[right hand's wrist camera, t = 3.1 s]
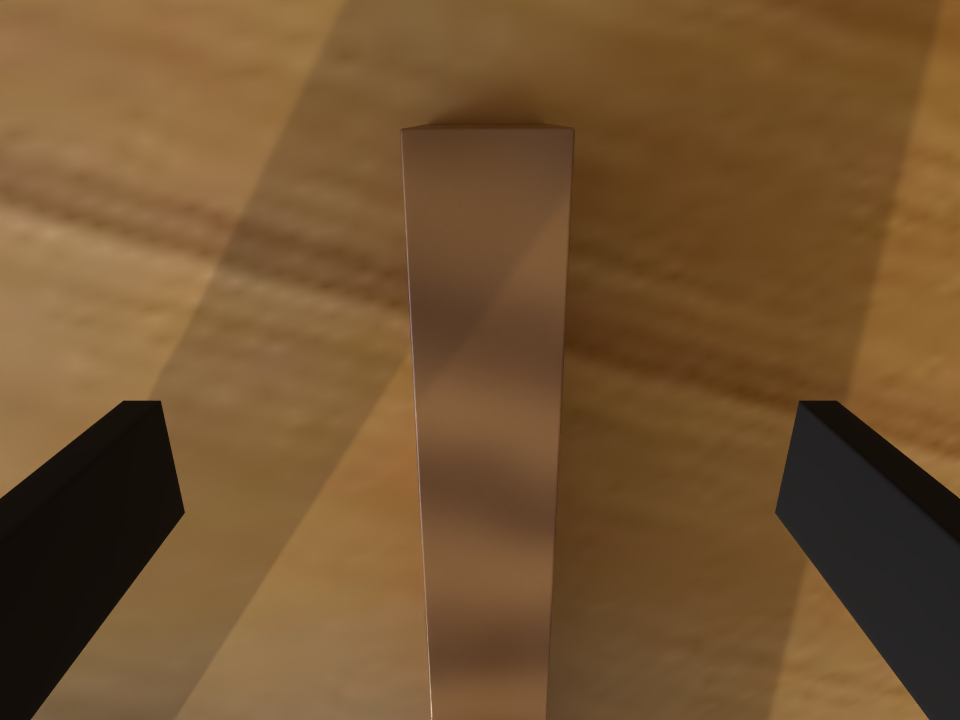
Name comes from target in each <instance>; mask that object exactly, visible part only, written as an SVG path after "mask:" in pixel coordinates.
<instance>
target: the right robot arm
mask: <svg viewBox="0 0 960 720" xmlns="http://www.w3.org/2000/svg"><path fill="white" fill-rule="evenodd" d="M184 513H185V511H184V506H183V502H182V497H181V492H180V488H179V483H178V478H177V474H176V469H175V465H174V460H173V455H172V451H171V446H170V441H169V437H168V432H167V428H166V423H165V418H164V414H163V409H162V404H161V401H122V402H121V403H120V404H119V405H117V406H116V407H115V408H114V409H112V410H111V411H110V412H109V413H107V414H106V415H105V416H104V417H102V418H101V419H100V420H99V421H97V422H96V423H95V424H94V425H92V426H91V427H90V428H89V429H87V430H86V431H85V432H83V433H82V434H81V435H80V436H78V437H77V438H76V439H75V440H73V441H72V442H71V443H70V444H68V445H67V446H66V447H65V448H63V449H62V450H61V451H60V452H58V453H57V454H56V455H55V456H53V457H52V458H51V459H50V460H48V461H47V462H46V463H45V464H43V465H42V466H41V467H39V468H38V469H37V470H36V471H34V472H33V473H32V474H31V475H29V476H28V477H27V478H26V479H24V480H23V481H22V482H21V483H19V484H18V485H17V486H16V487H14V488H13V489H12V490H11V491H9V492H8V493H7V494H6V495H4V496H3V497H2V498H1V499H0V720H31V718H32V717H33V716H34V714H35V713H36V712H37V710H38V709H39V708H40V706H41V705H42V704H43V702H44V701H45V700H46V698H47V697H48V696H49V694H50V693H51V692H52V690H53V689H54V688H55V686H56V685H57V684H58V682H59V681H60V680H61V678H62V677H63V676H64V674H65V673H66V671H67V670H68V669H69V667H70V666H71V665H72V663H73V662H74V661H75V659H76V658H77V657H78V655H79V654H80V653H81V651H82V650H83V649H84V647H85V646H86V645H87V643H88V642H89V641H90V639H91V638H92V637H93V635H94V634H95V633H96V631H97V630H98V629H99V627H100V626H101V625H102V623H103V622H104V621H105V619H106V618H107V617H108V615H109V614H110V613H111V611H112V610H113V608H114V607H115V606H116V604H117V603H118V602H119V600H120V599H121V598H122V596H123V595H124V594H125V592H126V591H127V590H128V588H129V587H130V586H131V584H132V583H133V582H134V580H135V579H136V578H137V576H138V575H139V574H140V572H141V571H142V570H143V568H144V567H145V566H146V564H147V563H148V562H149V560H150V559H151V558H152V556H153V555H154V554H155V552H156V551H157V549H158V548H159V547H160V545H161V544H162V543H163V541H164V540H165V539H166V537H167V536H168V535H169V533H170V532H171V531H172V529H173V528H174V527H175V525H176V524H177V523H178V521H179V520H180V519H181V517H182V516H183V515H184ZM775 513H776V515H777V516H778V517H779V519H780V520H781V521H782V523H783V524H784V525H785V527H786V528H787V529H788V531H789V532H790V533H791V535H792V536H793V537H794V539H795V540H796V541H797V543H798V544H799V545H800V547H801V548H802V549H803V551H804V552H805V554H806V555H807V556H808V558H809V559H810V560H811V562H812V563H813V564H814V566H815V567H816V568H817V570H818V571H819V572H820V574H821V575H822V576H823V578H824V579H825V580H826V582H827V583H828V584H829V586H830V587H831V588H832V590H833V591H834V592H835V594H836V595H837V596H838V598H839V599H840V600H841V602H842V603H843V604H844V606H845V607H846V608H847V610H848V611H849V613H850V614H851V615H852V617H853V618H854V619H855V621H856V622H857V623H858V625H859V626H860V627H861V629H862V630H863V631H864V633H865V634H866V635H867V637H868V638H869V639H870V641H871V642H872V643H873V645H874V646H875V647H876V649H877V650H878V651H879V653H880V654H881V655H882V657H883V658H884V659H885V661H886V662H887V663H888V665H889V666H890V667H891V669H892V670H893V671H894V673H895V674H896V676H897V677H898V678H899V680H900V681H901V682H902V684H903V685H904V686H905V688H906V689H907V690H908V692H909V693H910V694H911V696H912V697H913V698H914V700H915V701H916V702H917V704H918V705H919V706H920V708H921V709H922V710H923V712H924V713H925V714H926V716H927V717H928V718H929V720H960V499H959V498H958V497H957V496H956V495H954V494H953V493H952V492H951V491H949V490H948V489H947V488H946V487H944V486H943V485H942V484H941V483H939V482H938V481H937V480H936V479H934V478H933V477H932V476H931V475H929V474H928V473H927V472H926V471H924V470H923V469H922V468H921V467H919V466H918V465H917V464H915V463H914V462H913V461H912V460H910V459H909V458H908V457H907V456H905V455H904V454H903V453H902V452H900V451H899V450H898V449H897V448H895V447H894V446H893V445H892V444H890V443H889V442H888V441H887V440H885V439H884V438H883V437H882V436H880V435H879V434H878V433H877V432H875V431H874V430H873V429H871V428H870V427H869V426H868V425H866V424H865V423H864V422H863V421H861V420H860V419H859V418H858V417H856V416H855V415H854V414H853V413H851V412H850V411H849V410H848V409H846V408H845V407H844V406H843V405H841V404H840V403H839V402H838V401H799V404H798V409H797V414H796V418H795V423H794V428H793V432H792V437H791V441H790V446H789V451H788V455H787V460H786V465H785V469H784V474H783V478H782V483H781V488H780V492H779V497H778V502H777V506H776V511H775Z"/></svg>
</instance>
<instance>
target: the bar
mask: <svg viewBox="0 0 960 720" xmlns="http://www.w3.org/2000/svg"><path fill="white" fill-rule="evenodd" d="M574 137H575V130H574V128H572V127H565V126H558V125H550V124H453V125H420V126H415V127H410V128H404V129H401V130H400V142H401V161H402V180H403V199H404V218H405V237H406V256H407V275H408V294H409V312H410V331H411V350H412V369H413V388H414V407H415V426H416V445H417V464H418V483H419V502H420V521H421V540H422V559H423V578H424V597H425V615H426V634H427V653H428V672H429V691H430V710H431V720H546V719H547V698H548V678H549V657H550V636H551V615H552V594H553V574H554V553H555V532H556V511H557V490H558V470H559V449H560V428H561V407H562V386H563V366H564V345H565V324H566V303H567V282H568V262H569V241H570V220H571V199H572V178H573V158H574Z"/></svg>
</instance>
